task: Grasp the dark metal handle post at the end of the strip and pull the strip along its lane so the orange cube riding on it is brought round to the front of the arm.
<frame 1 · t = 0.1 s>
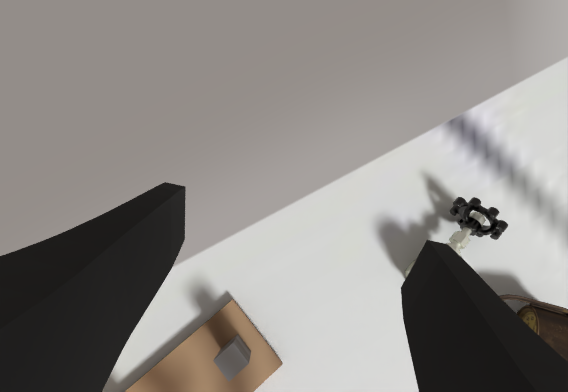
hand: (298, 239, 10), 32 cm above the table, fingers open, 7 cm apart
valve: (436, 253, 43), on the table
brown rounded piece: (499, 323, 41), on the table
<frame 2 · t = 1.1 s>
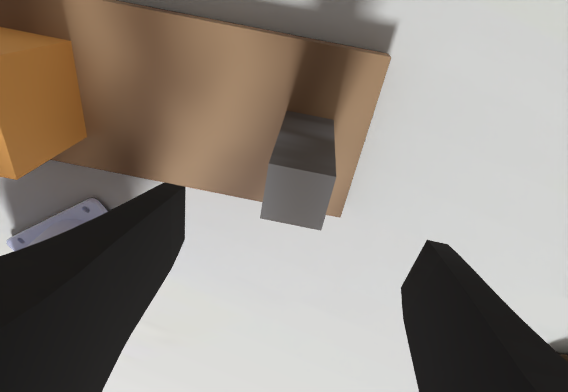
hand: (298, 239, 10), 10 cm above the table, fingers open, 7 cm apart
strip: (109, 119, 15), point 4 cm above the table, slide at 0.0 cm, touching cube
cube: (32, 83, 17), point 1 cm above the table, touching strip
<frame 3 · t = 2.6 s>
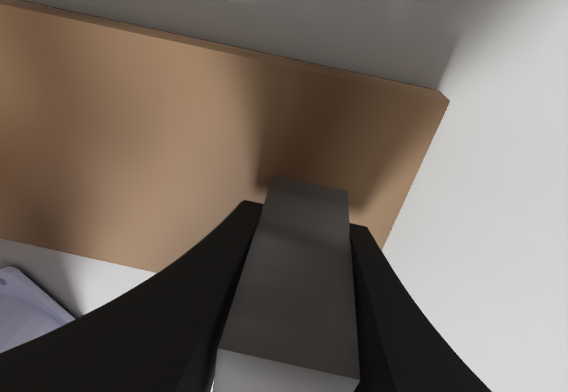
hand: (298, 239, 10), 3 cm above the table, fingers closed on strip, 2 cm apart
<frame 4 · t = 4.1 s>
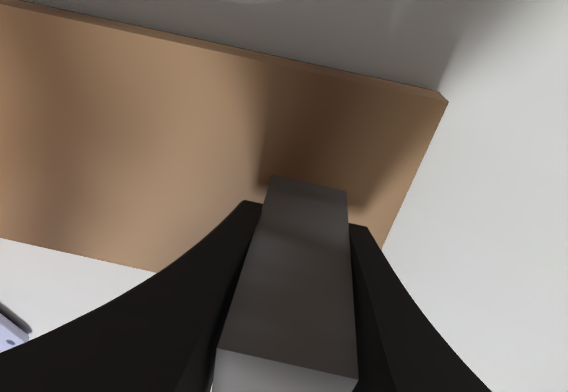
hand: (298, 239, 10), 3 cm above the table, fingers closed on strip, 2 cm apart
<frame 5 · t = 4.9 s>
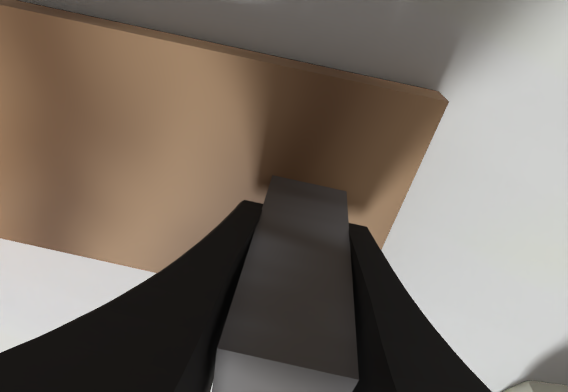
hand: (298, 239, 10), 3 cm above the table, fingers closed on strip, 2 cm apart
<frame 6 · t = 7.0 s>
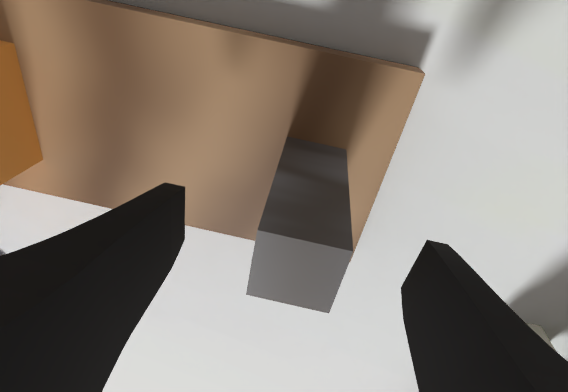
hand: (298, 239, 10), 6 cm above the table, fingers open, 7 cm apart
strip: (57, 147, 12), point 4 cm above the table, slide at 8.0 cm, touching cube
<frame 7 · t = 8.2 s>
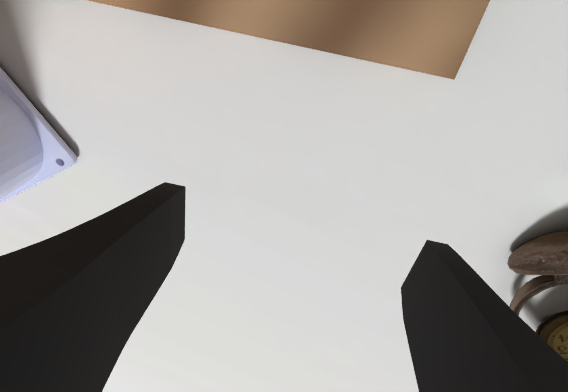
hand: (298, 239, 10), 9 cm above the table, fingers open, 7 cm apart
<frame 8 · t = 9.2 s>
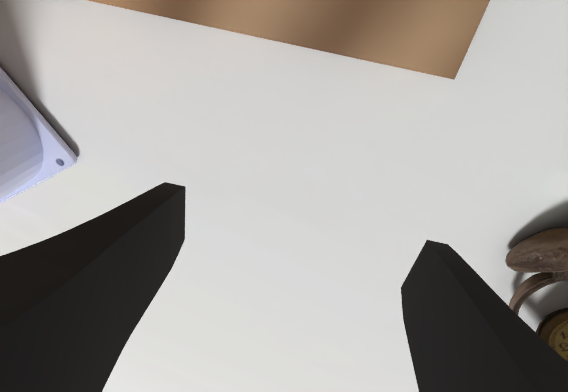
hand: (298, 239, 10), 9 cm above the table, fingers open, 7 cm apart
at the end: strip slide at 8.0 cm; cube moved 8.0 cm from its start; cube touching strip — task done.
